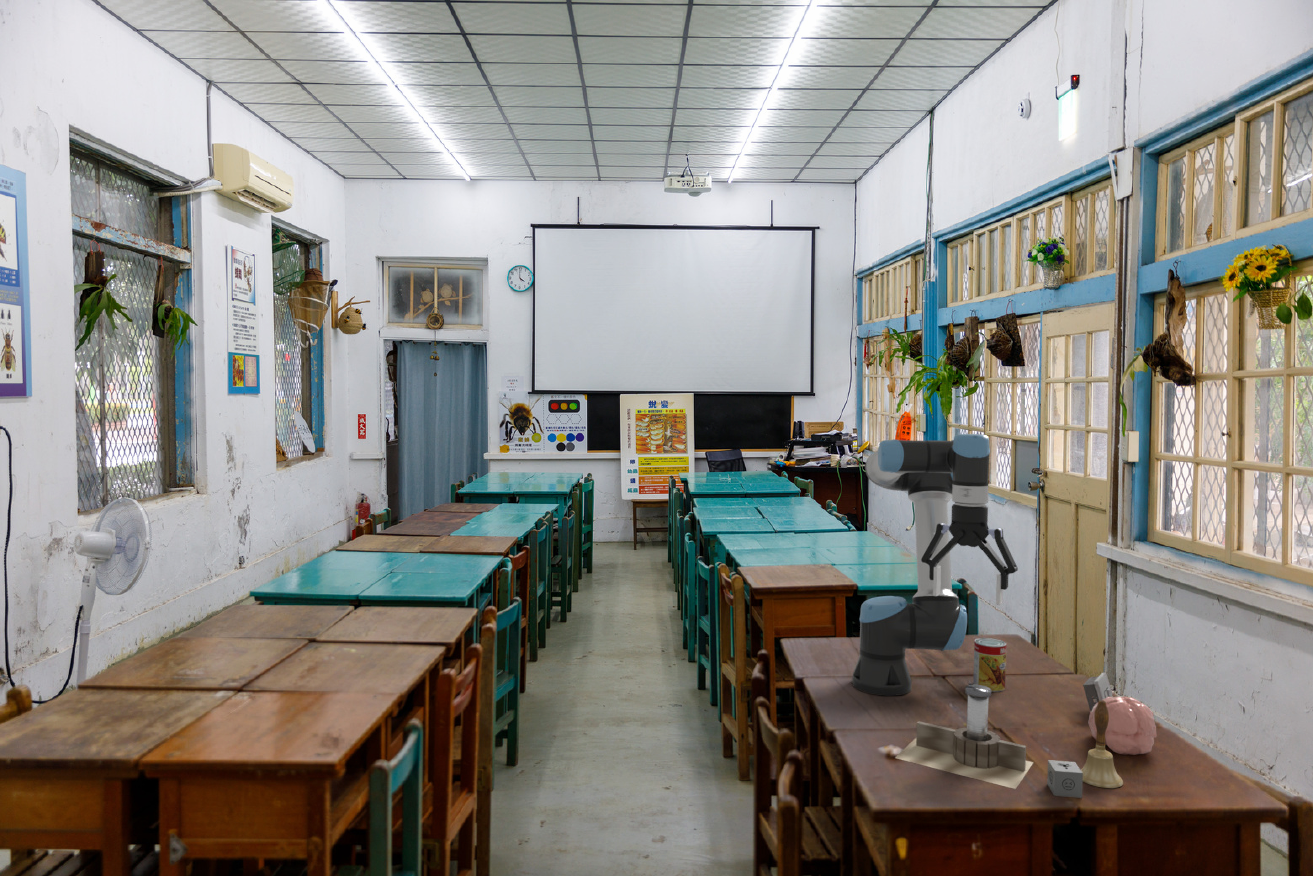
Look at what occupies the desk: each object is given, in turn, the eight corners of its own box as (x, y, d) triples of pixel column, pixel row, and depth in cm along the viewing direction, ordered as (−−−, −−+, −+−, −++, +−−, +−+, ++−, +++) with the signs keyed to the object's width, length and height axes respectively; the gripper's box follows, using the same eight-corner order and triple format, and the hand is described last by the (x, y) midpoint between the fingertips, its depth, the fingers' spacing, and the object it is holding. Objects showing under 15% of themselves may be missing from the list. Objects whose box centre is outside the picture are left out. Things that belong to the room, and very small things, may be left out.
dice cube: (1074, 786, 171) (1075, 762, 171) (1081, 798, 166) (1082, 773, 166) (1047, 784, 172) (1048, 760, 171) (1054, 796, 167) (1055, 770, 167)
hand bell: (1068, 771, 178) (1071, 694, 177) (1107, 769, 178) (1109, 693, 178) (1092, 789, 170) (1094, 709, 169) (1132, 788, 170) (1135, 708, 169)
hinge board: (894, 763, 181) (895, 734, 180) (918, 740, 193) (919, 713, 193) (1015, 795, 167) (1016, 763, 166) (1033, 768, 179) (1034, 738, 179)
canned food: (1009, 692, 225) (1011, 646, 224) (979, 691, 225) (980, 646, 225) (998, 682, 233) (1000, 638, 232) (969, 681, 233) (970, 637, 232)
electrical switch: (1108, 722, 205) (1105, 682, 205) (1084, 718, 208) (1081, 680, 208) (1116, 711, 212) (1113, 673, 212) (1093, 708, 215) (1090, 670, 215)
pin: (960, 760, 180) (962, 690, 178) (967, 751, 184) (969, 682, 182) (985, 766, 177) (987, 695, 176) (991, 757, 181) (994, 688, 180)
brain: (1082, 754, 196) (1075, 698, 201) (1142, 756, 195) (1134, 700, 199) (1107, 753, 182) (1099, 692, 186) (1172, 755, 180) (1163, 694, 184)
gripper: (908, 501, 195) (906, 594, 196) (1025, 510, 181) (1022, 611, 182) (919, 498, 201) (917, 588, 202) (1033, 507, 187) (1031, 604, 188)
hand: (967, 599), depth 192 cm, fingers open, 13 cm apart
